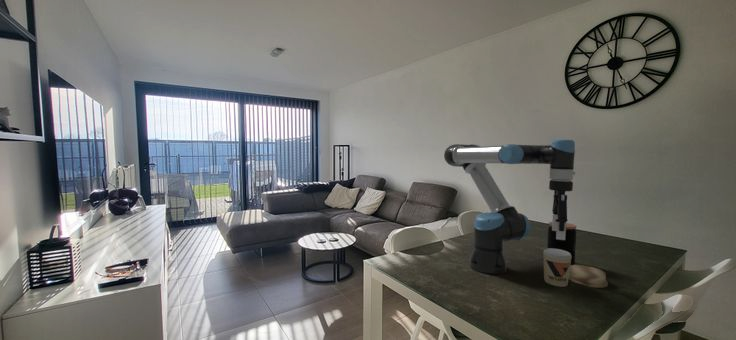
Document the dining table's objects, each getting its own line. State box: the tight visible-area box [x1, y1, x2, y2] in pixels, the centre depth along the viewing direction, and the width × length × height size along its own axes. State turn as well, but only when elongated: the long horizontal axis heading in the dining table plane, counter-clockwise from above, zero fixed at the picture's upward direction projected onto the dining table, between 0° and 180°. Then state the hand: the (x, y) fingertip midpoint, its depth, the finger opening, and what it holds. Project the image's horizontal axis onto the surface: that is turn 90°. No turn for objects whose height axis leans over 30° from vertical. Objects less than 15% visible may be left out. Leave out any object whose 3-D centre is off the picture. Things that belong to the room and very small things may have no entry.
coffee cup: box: [542, 248, 572, 288], centre depth 113 cm, size 9×9×12 cm
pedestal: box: [568, 264, 609, 289], centre depth 115 cm, size 13×13×4 cm
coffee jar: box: [546, 221, 577, 266], centre depth 133 cm, size 11×11×18 cm
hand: (558, 234), depth 112 cm, fingers open, 13 cm apart
